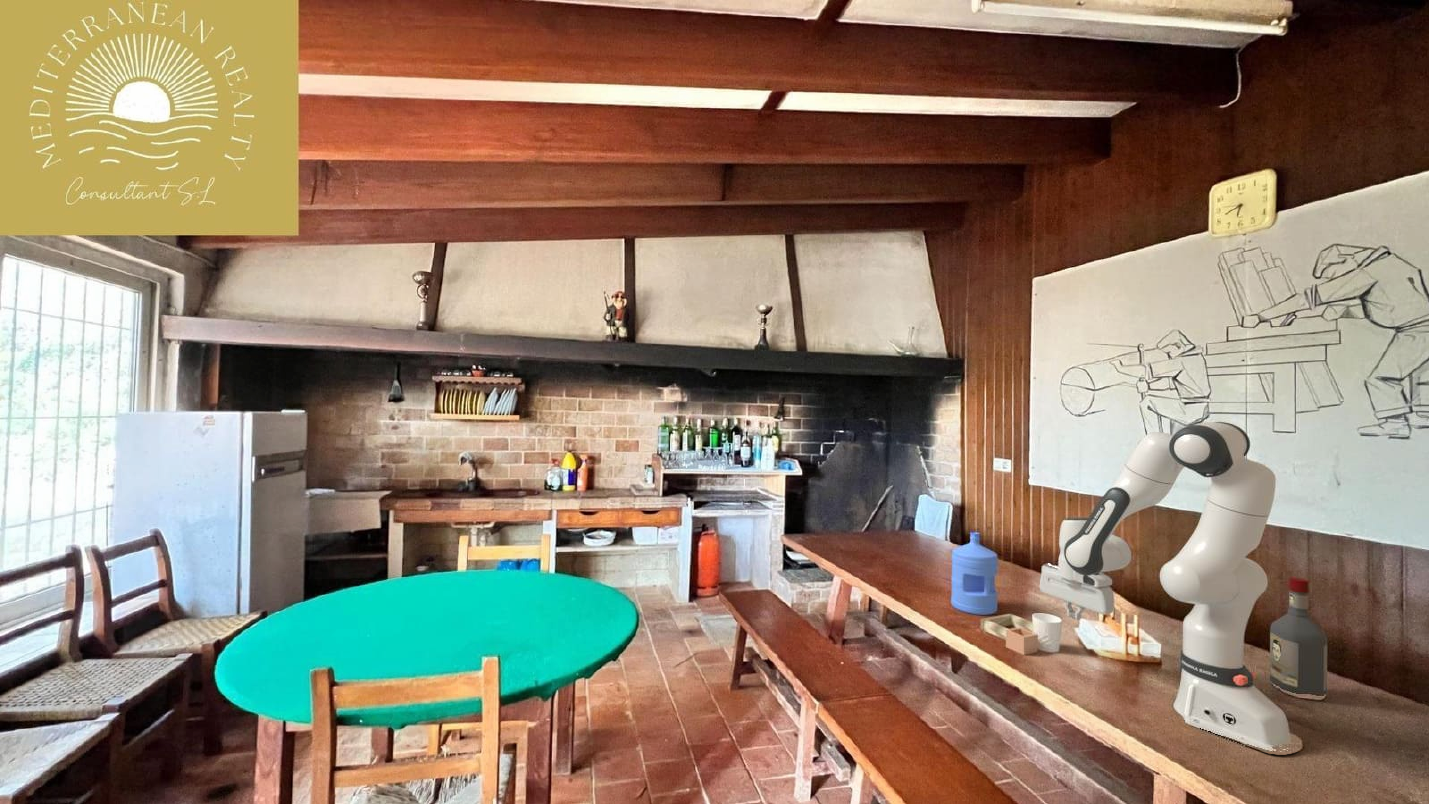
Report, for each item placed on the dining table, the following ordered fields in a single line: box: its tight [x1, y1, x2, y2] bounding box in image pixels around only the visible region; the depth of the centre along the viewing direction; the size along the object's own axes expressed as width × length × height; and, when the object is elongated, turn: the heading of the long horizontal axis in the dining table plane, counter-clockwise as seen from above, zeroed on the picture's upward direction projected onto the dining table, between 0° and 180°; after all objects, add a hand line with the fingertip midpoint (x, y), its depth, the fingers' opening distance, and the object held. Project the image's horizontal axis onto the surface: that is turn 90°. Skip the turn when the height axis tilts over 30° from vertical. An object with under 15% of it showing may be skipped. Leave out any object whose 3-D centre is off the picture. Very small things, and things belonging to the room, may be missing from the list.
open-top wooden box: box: [1005, 627, 1039, 656], centre depth 171 cm, size 6×6×6 cm
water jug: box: [950, 531, 999, 616], centre depth 209 cm, size 16×16×28 cm
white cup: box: [1031, 612, 1063, 653], centre depth 173 cm, size 8×8×10 cm
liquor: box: [1269, 576, 1328, 696], centre depth 149 cm, size 9×9×30 cm
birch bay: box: [980, 613, 1033, 641], centre depth 184 cm, size 13×14×4 cm
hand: (1073, 618), depth 165 cm, fingers closed
